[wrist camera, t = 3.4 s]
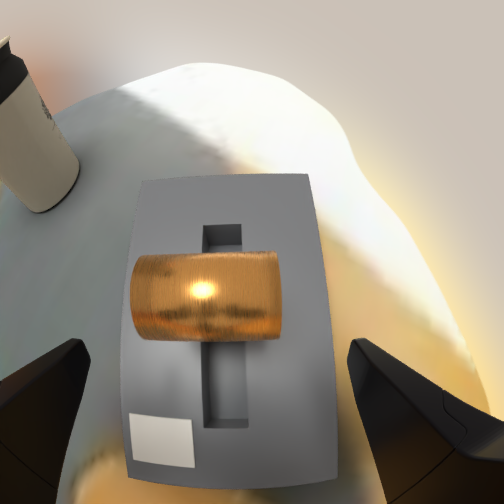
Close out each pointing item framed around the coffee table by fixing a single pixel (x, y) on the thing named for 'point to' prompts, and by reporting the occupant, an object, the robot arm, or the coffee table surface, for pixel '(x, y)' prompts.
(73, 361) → the robot arm
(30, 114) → the travel mug
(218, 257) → the lever handle
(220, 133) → the coffee table surface
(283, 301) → the block
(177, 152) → the coffee table surface
